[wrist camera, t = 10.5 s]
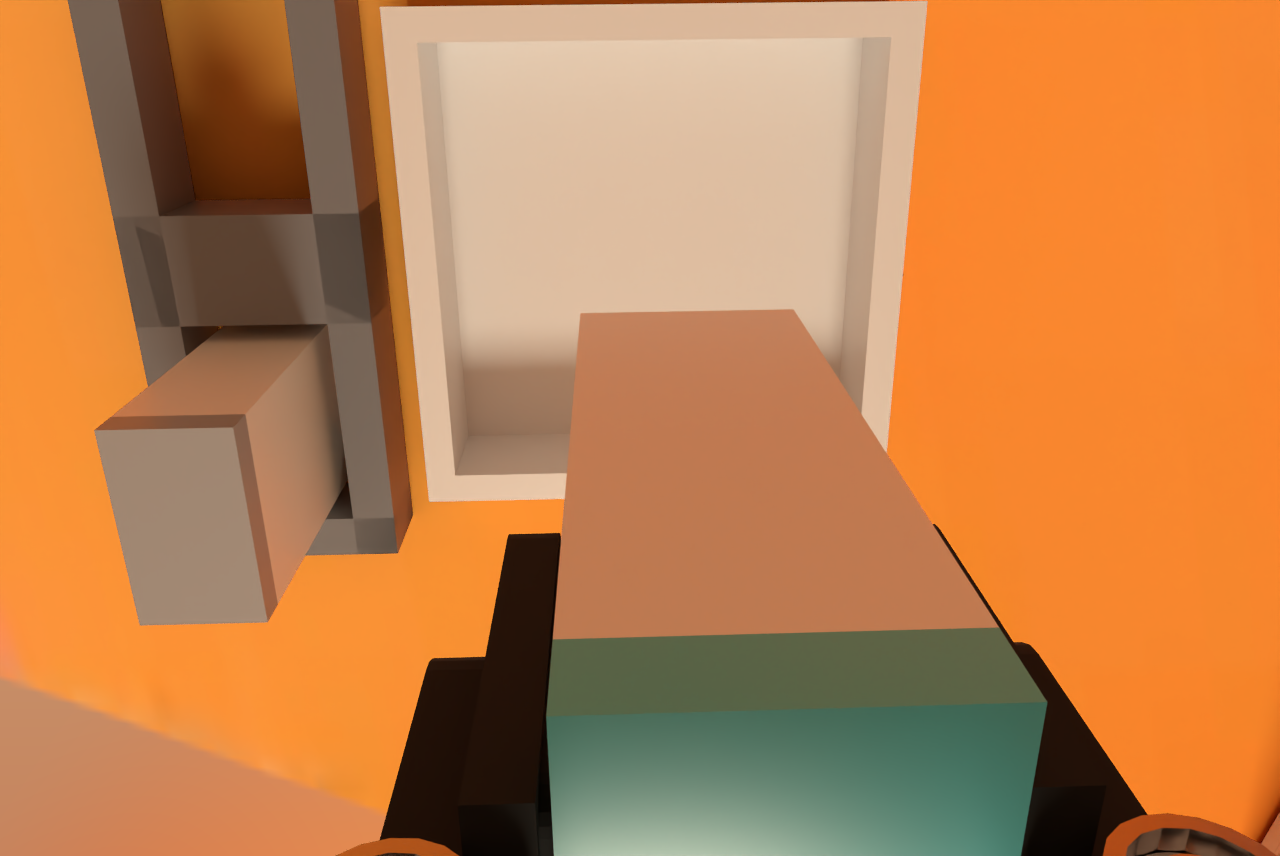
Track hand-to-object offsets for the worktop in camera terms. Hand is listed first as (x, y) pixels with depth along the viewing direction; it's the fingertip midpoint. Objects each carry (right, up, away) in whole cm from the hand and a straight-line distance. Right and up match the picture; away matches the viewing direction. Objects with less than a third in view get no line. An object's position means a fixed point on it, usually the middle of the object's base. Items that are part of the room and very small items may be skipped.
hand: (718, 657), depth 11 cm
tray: (-1, +8, +19) cm, 20 cm away
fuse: (-11, +3, +20) cm, 24 cm away
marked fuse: (0, +2, +4) cm, 5 cm away
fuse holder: (-12, +8, +19) cm, 23 cm away
